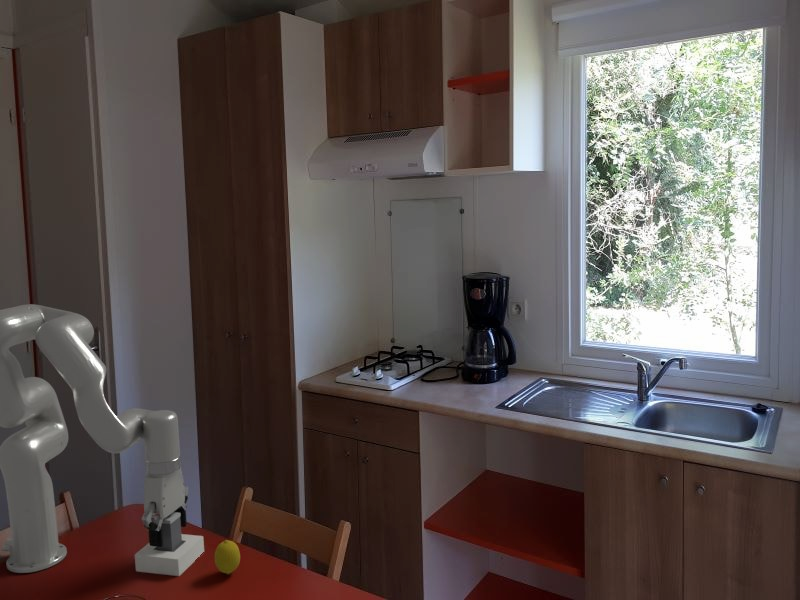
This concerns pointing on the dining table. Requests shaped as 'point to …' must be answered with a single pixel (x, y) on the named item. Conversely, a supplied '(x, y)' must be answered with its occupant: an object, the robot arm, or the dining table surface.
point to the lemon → (227, 557)
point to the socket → (170, 557)
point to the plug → (171, 532)
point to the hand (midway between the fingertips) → (168, 535)
